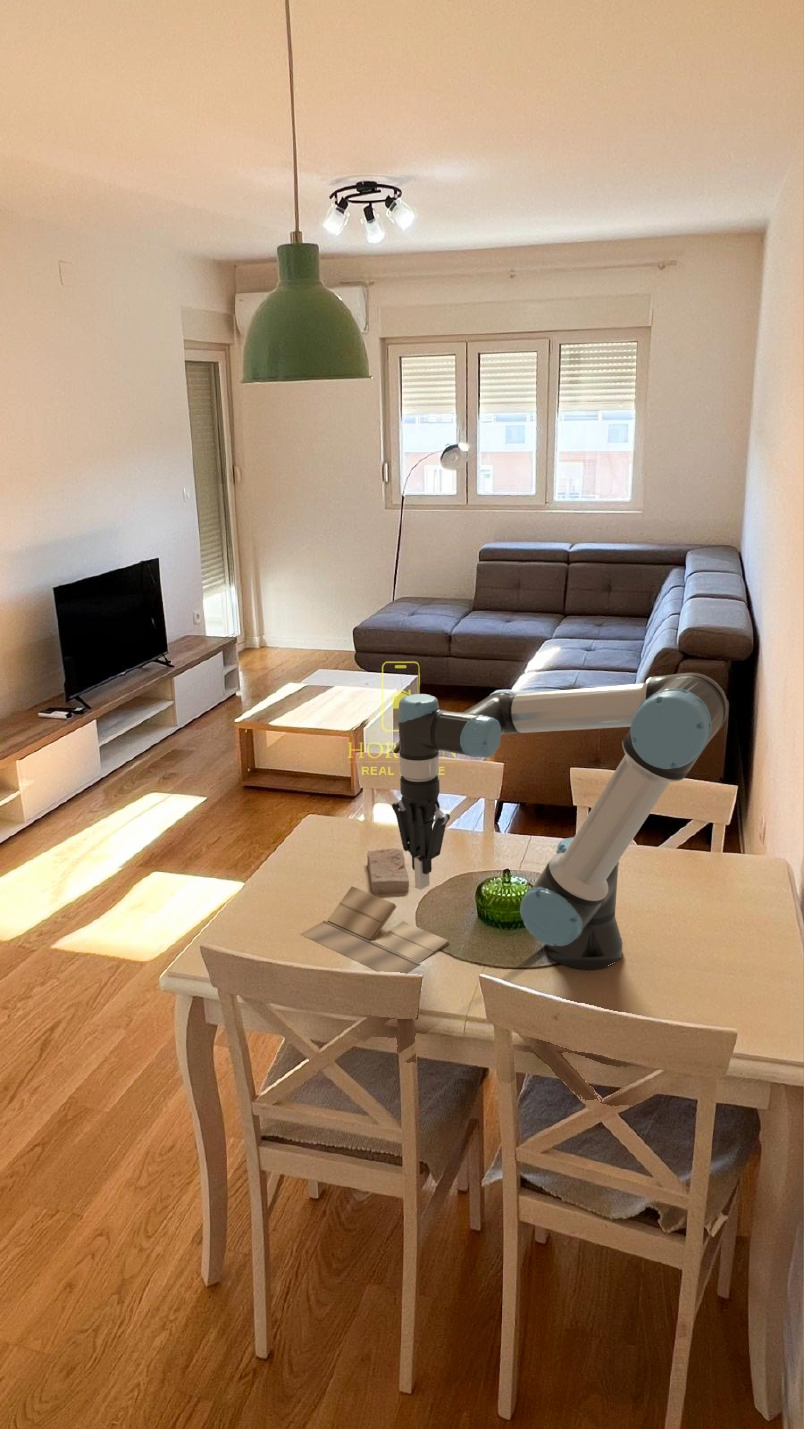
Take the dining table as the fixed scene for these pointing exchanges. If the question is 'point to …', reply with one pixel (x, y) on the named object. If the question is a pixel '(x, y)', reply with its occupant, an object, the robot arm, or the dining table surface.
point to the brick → (387, 871)
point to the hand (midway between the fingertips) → (422, 886)
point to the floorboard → (359, 948)
